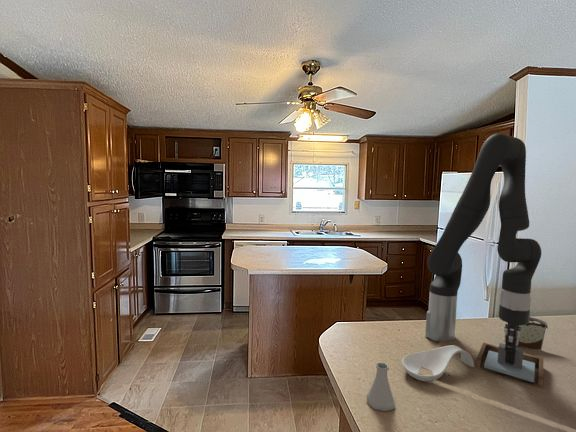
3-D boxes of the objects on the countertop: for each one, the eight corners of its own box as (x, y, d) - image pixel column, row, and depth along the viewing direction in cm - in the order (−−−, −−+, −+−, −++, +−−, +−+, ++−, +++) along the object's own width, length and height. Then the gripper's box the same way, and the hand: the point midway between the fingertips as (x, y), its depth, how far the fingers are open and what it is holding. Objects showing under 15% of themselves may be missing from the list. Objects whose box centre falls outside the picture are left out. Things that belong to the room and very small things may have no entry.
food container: (534, 342, 119) (536, 315, 119) (545, 350, 113) (548, 322, 112) (498, 340, 121) (500, 313, 120) (508, 348, 115) (510, 320, 114)
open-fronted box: (475, 370, 100) (476, 357, 100) (482, 353, 110) (483, 342, 110) (542, 390, 90) (543, 377, 90) (542, 370, 100) (543, 358, 100)
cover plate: (483, 367, 98) (485, 348, 97) (488, 353, 107) (490, 335, 106) (533, 382, 91) (535, 361, 90) (534, 366, 99) (536, 347, 99)
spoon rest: (420, 391, 89) (421, 366, 88) (392, 369, 100) (394, 346, 100) (484, 376, 97) (486, 353, 96) (452, 357, 108) (453, 336, 108)
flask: (362, 394, 87) (363, 358, 86) (388, 393, 88) (390, 357, 87) (371, 412, 80) (373, 373, 79) (400, 411, 81) (402, 372, 80)
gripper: (501, 296, 105) (497, 348, 106) (497, 308, 94) (492, 366, 95) (530, 301, 100) (526, 355, 102) (529, 315, 89) (524, 375, 91)
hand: (510, 360), depth 98 cm, fingers closed on cover plate, 3 cm apart
